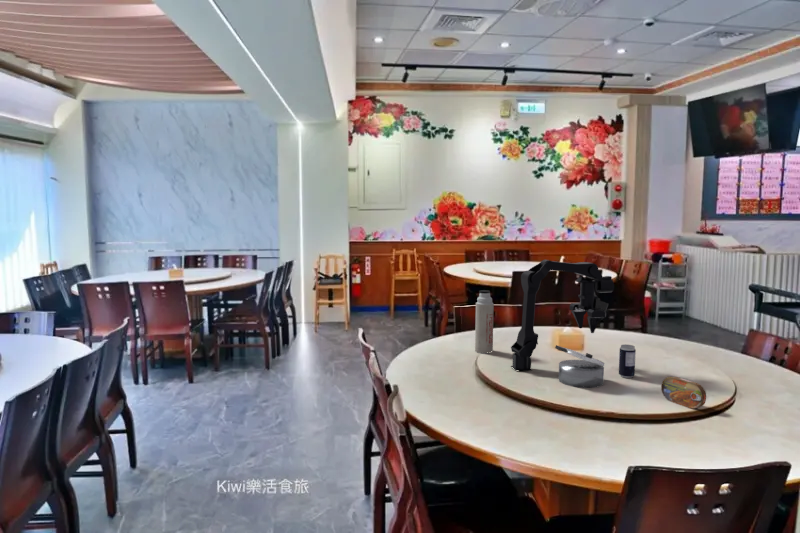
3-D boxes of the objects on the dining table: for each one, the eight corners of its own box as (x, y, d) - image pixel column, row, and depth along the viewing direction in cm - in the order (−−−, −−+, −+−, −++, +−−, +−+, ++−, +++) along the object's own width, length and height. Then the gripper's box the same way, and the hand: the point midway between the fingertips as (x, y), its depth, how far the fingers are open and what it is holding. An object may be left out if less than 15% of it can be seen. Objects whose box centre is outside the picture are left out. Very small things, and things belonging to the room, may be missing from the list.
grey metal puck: (571, 389, 194) (572, 372, 193) (550, 376, 210) (551, 360, 209) (612, 386, 197) (612, 370, 196) (588, 373, 213) (589, 358, 212)
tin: (660, 397, 185) (661, 373, 184) (666, 396, 186) (667, 372, 186) (700, 412, 172) (702, 386, 171) (707, 411, 173) (708, 385, 172)
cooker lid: (567, 355, 192) (569, 349, 192) (546, 344, 208) (548, 338, 208) (612, 370, 196) (614, 364, 196) (588, 358, 212) (590, 353, 212)
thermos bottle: (496, 352, 246) (497, 291, 243) (481, 354, 242) (482, 292, 239) (485, 348, 253) (486, 288, 250) (471, 350, 249) (472, 290, 246)
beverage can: (634, 375, 211) (636, 345, 209) (634, 379, 205) (635, 348, 204) (619, 373, 213) (620, 343, 212) (618, 377, 208) (619, 346, 207)
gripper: (618, 295, 214) (617, 334, 215) (593, 289, 232) (592, 325, 234) (593, 296, 212) (591, 335, 213) (569, 290, 230) (568, 326, 231)
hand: (586, 330), depth 223 cm, fingers open, 9 cm apart
